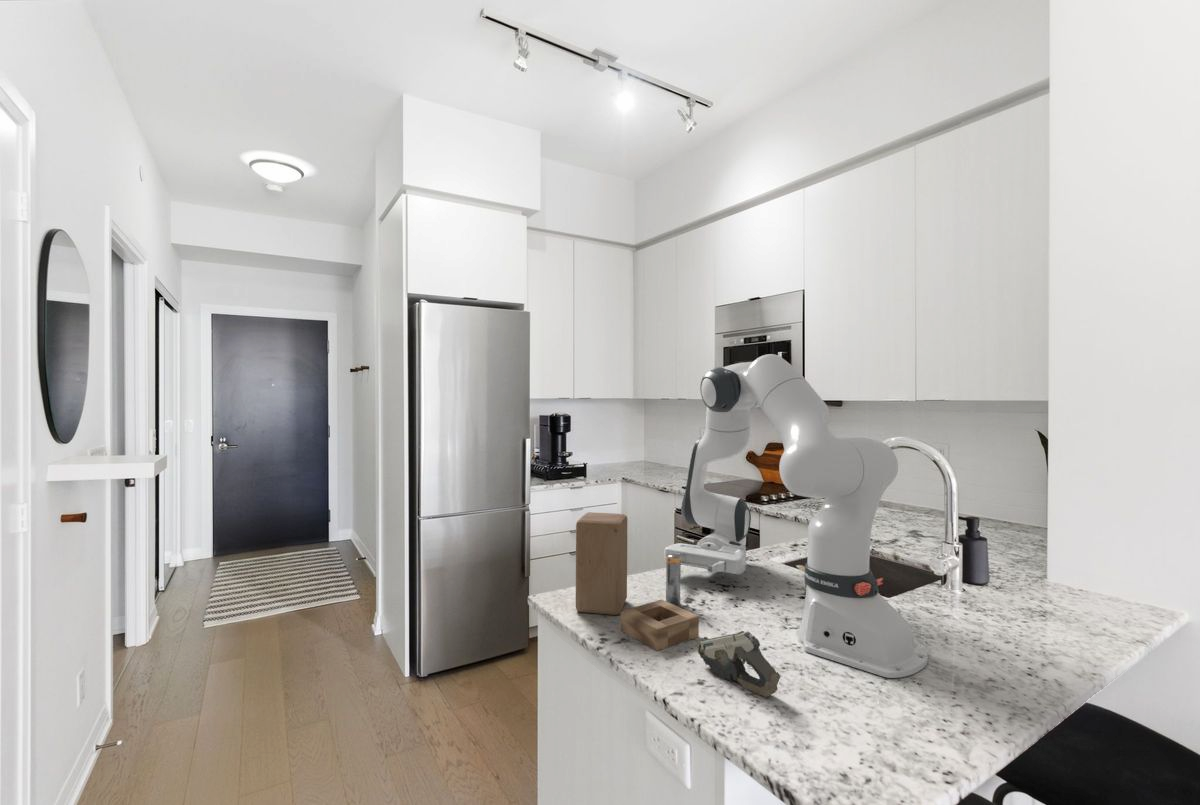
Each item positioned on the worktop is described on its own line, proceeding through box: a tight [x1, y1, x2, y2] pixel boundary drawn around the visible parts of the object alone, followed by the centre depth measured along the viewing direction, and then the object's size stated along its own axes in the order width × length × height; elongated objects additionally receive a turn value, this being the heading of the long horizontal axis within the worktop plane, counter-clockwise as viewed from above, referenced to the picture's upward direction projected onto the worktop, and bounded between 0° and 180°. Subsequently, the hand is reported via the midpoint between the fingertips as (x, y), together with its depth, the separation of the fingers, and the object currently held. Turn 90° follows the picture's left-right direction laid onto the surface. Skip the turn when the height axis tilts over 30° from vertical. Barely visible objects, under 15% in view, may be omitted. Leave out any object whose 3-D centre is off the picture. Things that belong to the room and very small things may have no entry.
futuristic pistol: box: [697, 630, 781, 698], centre depth 96 cm, size 2×15×10 cm, turn 38°
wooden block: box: [575, 511, 628, 616], centre depth 128 cm, size 10×10×20 cm
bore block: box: [620, 599, 700, 651], centre depth 114 cm, size 11×11×4 cm
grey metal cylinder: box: [665, 553, 682, 607], centre depth 130 cm, size 3×3×11 cm
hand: (692, 566), depth 138 cm, fingers open, 8 cm apart
